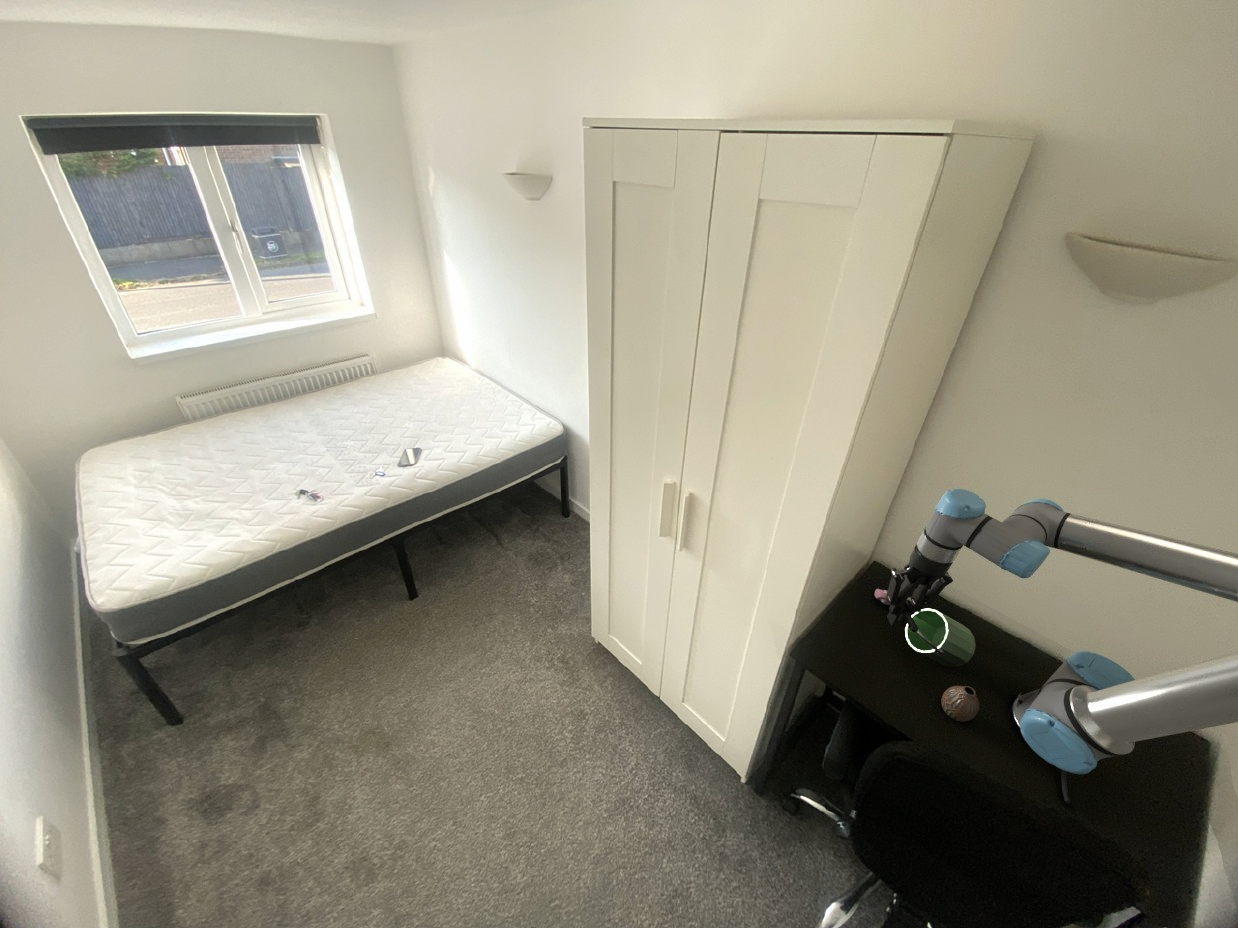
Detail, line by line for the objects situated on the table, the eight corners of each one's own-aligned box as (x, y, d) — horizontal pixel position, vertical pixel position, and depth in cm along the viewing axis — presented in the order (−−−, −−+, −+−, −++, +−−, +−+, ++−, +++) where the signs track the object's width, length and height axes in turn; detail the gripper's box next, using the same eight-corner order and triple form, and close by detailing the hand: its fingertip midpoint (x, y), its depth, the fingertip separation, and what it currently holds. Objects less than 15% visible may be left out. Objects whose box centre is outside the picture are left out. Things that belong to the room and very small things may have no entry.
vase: (968, 732, 113) (985, 711, 108) (934, 714, 117) (949, 693, 111) (972, 709, 118) (989, 688, 113) (939, 692, 121) (955, 670, 116)
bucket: (958, 611, 129) (899, 577, 123) (987, 657, 118) (924, 623, 112) (922, 633, 135) (864, 602, 129) (946, 679, 124) (884, 647, 118)
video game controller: (871, 604, 144) (878, 597, 138) (873, 589, 146) (881, 582, 140) (909, 615, 141) (918, 609, 135) (911, 600, 143) (920, 593, 137)
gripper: (959, 542, 112) (918, 610, 126) (893, 538, 112) (859, 607, 126) (978, 567, 106) (933, 636, 119) (908, 563, 106) (871, 632, 120)
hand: (895, 621), depth 123 cm, fingers closed on bucket, 2 cm apart
